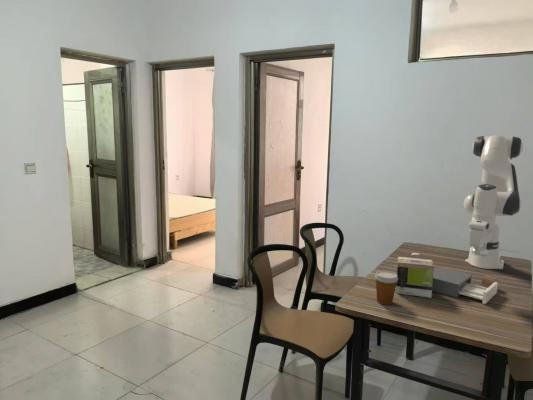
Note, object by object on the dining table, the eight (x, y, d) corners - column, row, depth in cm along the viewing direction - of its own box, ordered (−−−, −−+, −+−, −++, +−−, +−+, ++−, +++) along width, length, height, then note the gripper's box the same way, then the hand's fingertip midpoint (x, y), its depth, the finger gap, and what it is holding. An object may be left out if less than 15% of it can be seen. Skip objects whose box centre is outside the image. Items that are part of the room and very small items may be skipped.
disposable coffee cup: (393, 308, 164) (395, 280, 162) (370, 302, 169) (371, 275, 167) (398, 300, 172) (401, 273, 170) (376, 295, 177) (378, 269, 175)
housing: (438, 278, 199) (439, 266, 198) (470, 286, 189) (472, 274, 188) (423, 288, 186) (424, 275, 185) (457, 297, 176) (458, 284, 175)
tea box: (430, 290, 183) (433, 259, 181) (431, 298, 174) (434, 266, 172) (395, 285, 188) (398, 255, 186) (395, 293, 179) (397, 261, 176)
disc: (474, 250, 180) (474, 246, 180) (489, 253, 176) (490, 249, 176) (469, 253, 176) (470, 249, 175) (485, 256, 171) (486, 252, 171)
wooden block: (484, 285, 191) (485, 275, 190) (495, 288, 187) (497, 278, 186) (480, 288, 187) (482, 278, 186) (492, 291, 184) (494, 280, 183)
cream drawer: (461, 284, 191) (462, 274, 190) (496, 292, 181) (497, 282, 180) (448, 293, 179) (449, 283, 178) (485, 304, 169) (486, 292, 168)
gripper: (482, 217, 183) (479, 247, 185) (467, 224, 169) (464, 256, 171) (497, 220, 179) (494, 250, 181) (484, 226, 164) (480, 259, 166)
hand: (479, 253), depth 176 cm, fingers closed on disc, 6 cm apart
